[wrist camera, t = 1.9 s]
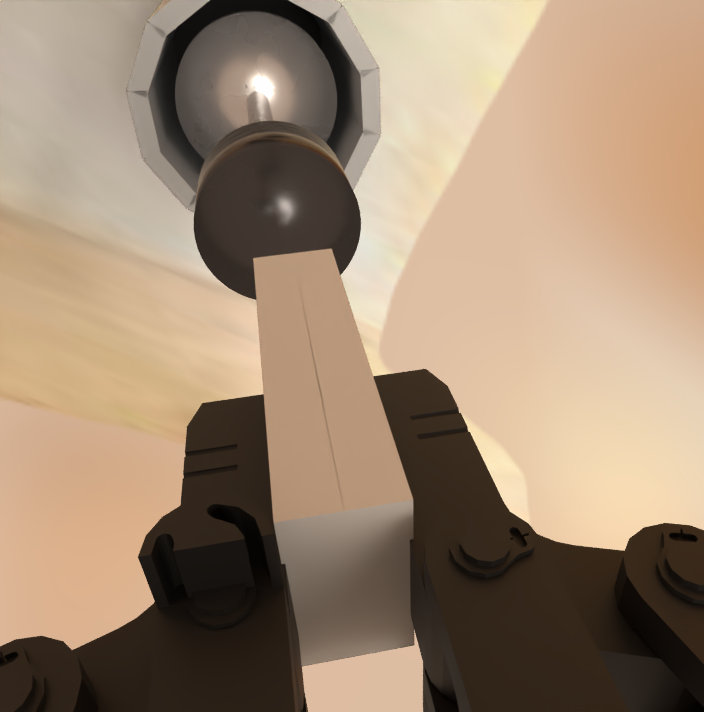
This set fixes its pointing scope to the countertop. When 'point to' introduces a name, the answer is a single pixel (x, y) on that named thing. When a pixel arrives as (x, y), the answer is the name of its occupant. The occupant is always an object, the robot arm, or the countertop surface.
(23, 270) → the countertop surface
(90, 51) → the countertop surface
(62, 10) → the countertop surface
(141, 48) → the press beaker
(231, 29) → the plunger
